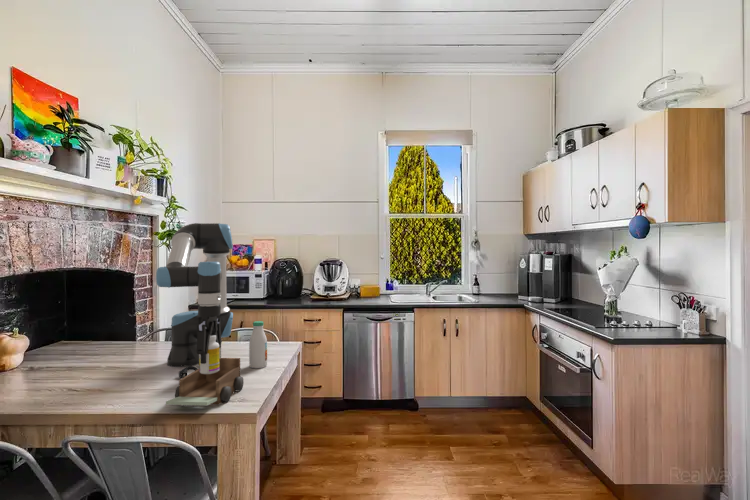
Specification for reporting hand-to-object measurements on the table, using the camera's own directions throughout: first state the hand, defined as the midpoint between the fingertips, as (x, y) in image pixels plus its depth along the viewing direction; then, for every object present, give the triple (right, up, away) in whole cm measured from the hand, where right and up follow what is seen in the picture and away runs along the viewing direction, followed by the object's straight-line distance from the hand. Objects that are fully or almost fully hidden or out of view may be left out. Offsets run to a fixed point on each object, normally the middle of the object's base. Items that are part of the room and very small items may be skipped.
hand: (209, 369), depth 149 cm
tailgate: (-1, -7, -8) cm, 11 cm away
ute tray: (0, -10, +2) cm, 10 cm away
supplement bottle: (0, -1, 0) cm, 1 cm away
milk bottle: (+7, -10, +38) cm, 40 cm away
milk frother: (-12, -10, +22) cm, 27 cm away
